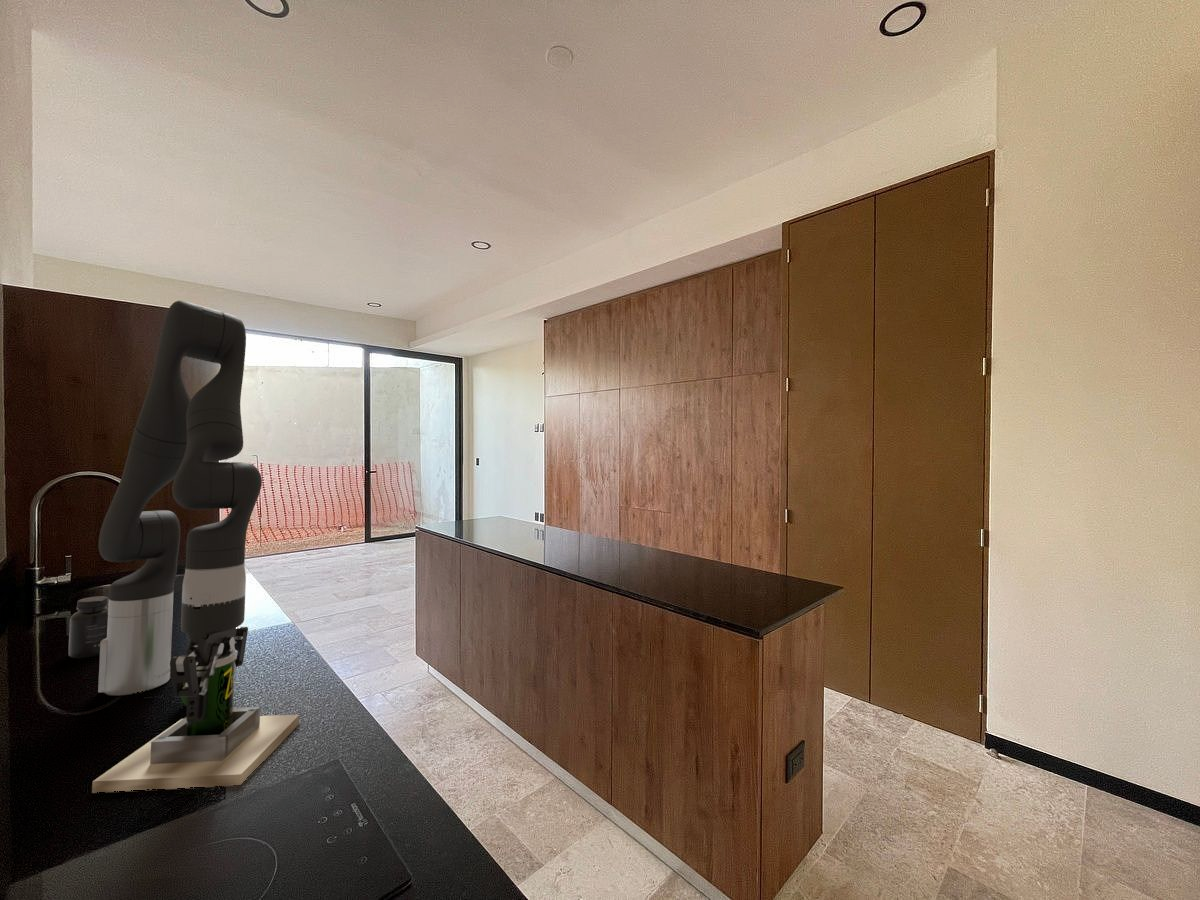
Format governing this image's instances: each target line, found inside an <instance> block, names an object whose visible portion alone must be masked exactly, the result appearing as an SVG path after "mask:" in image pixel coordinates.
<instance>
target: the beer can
mask: <svg viewBox="0 0 1200 900" xmlns="http://www.w3.org/2000/svg"><path fill="white" fill-rule="evenodd" d="M215 661H216V660H215ZM234 668H235V658H234V656H233V651H231V654H229V653H228V652H226V653H225V654H224V655H223V656H220V657H219V659H217V663H216V666H215V674H214V676H212V677H210V679H209V684H208V688H207V692H206V693H207V713H206V718H205V719H204V720H202V721H201V722H188V721H187V731H186V736H200V735H220V734H221V733H222V732H223V731H224V730H226V729H227V728H228V727H229V726H230V725H232V719H233V708H234V693H235V691H234V689H235V675H234ZM196 669H197V672H203V671H206V670H207V669H208V666H198V667H196ZM197 678H198V686H200V683H201V677H197Z"/></svg>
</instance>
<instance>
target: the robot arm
mask: <svg viewBox="0 0 1200 900" xmlns="http://www.w3.org/2000/svg"><path fill="white" fill-rule="evenodd" d="M246 349H247V332H246V327H245V323H244V322H243V320H241V319H240V318H239V317H237V316H235V315H232V314H230V313H226V312H223V311H220V310H218V309H217V310H216V309H213V308H210V307H208V306H207V307H206V306H203V305H199V304H196V303H192V302H189V301H186V300H185V301H184V300H177V301H174V302H173V303H172V304H171V305H170V306H169V308H168V309H167V312H166V314H165V316H164V319H163V323H162V327H161V332H160V335H159V341H158V346H157V351H156V355H155V360H154V364H153V369H152V373H151V377H150V381H149V382H150V383H149V385H148V389H147V392H146V395H145V398H144V400H143V403H142V408H141V410H140V413H139V415H138V418H137V421H136V424H135V427H134V430H133V432H132V434H133V435H132V436H131V441H130V445H129V449H128V453H127V457H126V460H125V464H124V469H123V472H122V475H121V478H120V481H119V484H118V486H117V489H116V491H115V494H114V496H113V498H112V500H111V503H110V504H109V508H108V510H107V512H106V514H105V516H104V520H103V522H102V524H101V528H100V531H99V536H98V551H99V555H100V556H101V558H102V559H103V560H104V561H106V562H108V563H109V562H110V563H124V562H127V563H128V562H131V561H133V562H134V561H140V560H146V561H145V563H144V564H143V565H142V566H141V567H140V568H138V569H137V570H136V571H134V572H132V573H130V574H128V575H126V576H123V577H121V578H119V579H116V580H115V581H114V582H113V581H112V583H111V584H110V585H109V588H108V606H107V608H108V626H107V638H106V639H103V640H102V641H101V643H100V655H99V668H98V669H99V670H98V686H97V688H98V690H97V692H98V693H103V694H106V695H107V696H127V695H133V693H134V694H138V693H137V692H139V693H143V692H145V691H146V690H147V691H150V690H153V689H155V688H158V687H160V686H162V685H165V684H166V683H168V682H169V680H170V679H171V682H172V690H173V691H172V692H173V697H174V698H181V697H186V698H187V706H185V707H186V710H185V711H186V713H185V718H186V720H187V721H188V722H201V721H202V720H204V719H205V718H206V713H207V693H206V692H207V688H208V684H209V679H210V677H212V676H214V674H215V666H216V663H217V659H219V657H220V656H223V655H224V654H225V653H226V652H228V653H229V654H231V651H233V656H234V658H235V668H234V674H236V672H237V668H238V667H242V665H243V664H244V660H245V659H244V658H245V652H246V646H247V645H246V644H247V640H248V632H249V628H248V626H241V625H242V624H243V623H244V621H245V615H246V614H245V613H246V611H245V610H246V605H245V604H246V588H247V587H246V585H247V583H246V582H247V576H246V575H247V574H246V566H245V561H246V559H245V558H246V537H247V532H248V527H249V523H250V521H251V516H252V514H253V511H254V508H255V506H256V504H257V501H258V499H259V496H260V493H261V489H262V485H263V484H262V483H263V479H262V474H261V472H260V471H259V469H258V468H257V467H256V466H255V465H254V464H252V463H251V462H250V463H249V462H235V461H231V462H229V461H228V462H226V461H227V460H228V459H229V460H230V459H232V458H235V457H236V456H238V455H239V454H240V453H241V451H242V450H243V448H244V435H243V434H244V433H243V425H242V414H241V410H242V409H241V398H242V389H243V380H244V371H245V359H246V358H245V357H246ZM184 357H187V358H191V359H195V360H196V359H197V360H200V361H204V362H209V363H212V364H219V365H220V367H219V371H218V372H217V374H216V375H214V377H212V378H211V380H209V381H208V383H206V384H205V385H203V386H202V387H201V388H200V389H199V390H198V391H197V392H196V393H195V394H194V395H193V397H192V398H191V396H190V395H189V392H188V390H187V388H186V383H185V382H184V378H183V375H182V361H183V358H184ZM225 460H226V461H225ZM172 481H173V483H172V487H171V490H172V491H171V493H172V497H173V499H174V501H175V502H176V503H177V505H179V506H180V507H181V508H183V509H185V510H192V511H193V510H194V511H195V510H196V511H197V510H218V509H219V510H221V509H231V510H230V512H229V513H228V514H227V516H226V517H225V518H224V519H222V520H219V521H217V522H213V523H209V524H204V525H199V526H196V527H193V528H192V529H190V530H189V532H188V533H187V535H186V536H187V537H186V542H185V543H186V545H185V546H186V548H185V552H186V553H185V569H184V575H183V580H182V587H181V588H182V589H181V591H182V592H181V611H180V612H181V615H180V616H181V617H180V631H181V632H182V633H183V634H185V635H187V636H188V637H189V640H188V644H187V647H186V651H185V652H184V653H183V654H182V655H180V656H173V657H172V639H173V638H172V636H173V615H174V614H173V613H174V611H173V610H174V607H173V606H174V590H175V589H174V588H175V581H176V578H177V571H178V559H179V558H178V557H179V552H180V550H179V549H180V543H181V542H180V541H181V525H180V520H179V517H178V516H177V515H176V514H175V512H173V511H171V510H165V509H164V510H163V509H162V510H161V509H159V510H147V511H143V510H145V507H146V506H147V504H148V503H149V501H150V500H151V499H152V498H153V497H154V496H155V495H156V494H157V493H158V492H159V491H161V489H163V488H164V487H165V486H167V485H168V484H169V483H171V482H172ZM215 660H216V661H215ZM198 666H208V669H207V670H206V671H203V672H197V669H196V667H198ZM197 677H201V683H200V686H198V678H197ZM183 683H185V687H183ZM142 691H143V692H142ZM147 691H146V692H147Z"/></svg>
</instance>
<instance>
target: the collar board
mask: <svg viewBox="0 0 1200 900" xmlns="http://www.w3.org/2000/svg"><path fill="white" fill-rule="evenodd" d="M299 725H300V714H282V715H281V714H280V715H279V714H277V715H276V714H275V715H261V707H260V706H257V707H256V706H253V707H251V706H250V707H233V719H232V725H230V726H229V727H228V728H227V729H226V730H224V731H223V732H222V733H221V734H220V735H200V736H186V731H187V720H186V717H184V718H180V719H179V720H178V721H176V723H174V724H172V725H171V726H169V727H168V728H166V729H165V730H163V731H162V732H161V733H160V734H158V735H157V736H155V737H153V738H152V739H151V740H149V741H148V742H147V743H145V744H144V745H142V746H141V747H139V748H138V749H136V750H135V751H133V752H132V753H131V754H129V755H128V756H127V757H125V758H124V759H122V760H121V761H119V762H118V763H117V764H115V765H114V766H112V767H111V768H110V769H108V770H106V771H105V772H104V773H103V774H100V776H98V777H97V778H96V779H93V780H92V786H91V793H92V794H100V793H99V792H105V793H120V792H119V791H125V792H134V791H133V790H145V791H153V790H152V789H156V790H155V791H158V790H157V789H165V790H178V789H177V788H185V789H191V788H190V787H193V788H192V789H195V788H194V787H205V788H216V787H215V786H218V787H217V788H219V786H222V787H223V786H224V787H234V786H233V785H241V784H242V783H243V781H245V780H247V779H248V778H249V777H250V776H251V775H252V774H253V773H254V772H255V771H256V770H257V769H258V768H259V767H260V766H261V765H262V764H263V763H262V762H263V761H266V760H267V758H269V756H270V755H271V754H272V753H273V752H274V751H275V750H276V749H277V748H278V746H280V745H281V744H282V743H283V741H284V740H285V739H287V737H289V735H290V734H291V733H292V732H293V731H294V730H295V729H296V728H297V727H298V726H299ZM261 763H262V764H261ZM260 764H261V765H260ZM259 765H260V766H259ZM258 766H259V767H258ZM257 767H258V768H257ZM256 768H257V769H256ZM255 769H256V770H255ZM254 770H255V771H254ZM253 771H254V772H253ZM252 772H253V773H252ZM251 773H252V774H251ZM250 774H251V775H250ZM249 775H250V776H249ZM248 776H249V777H248ZM247 777H248V778H247ZM246 778H247V779H246ZM243 784H244V783H243ZM243 784H242V785H243ZM242 785H241V786H242ZM147 789H149V790H147ZM131 790H132V791H131ZM114 791H116V792H114ZM117 791H118V792H117ZM97 792H98V793H97Z"/></svg>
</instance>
